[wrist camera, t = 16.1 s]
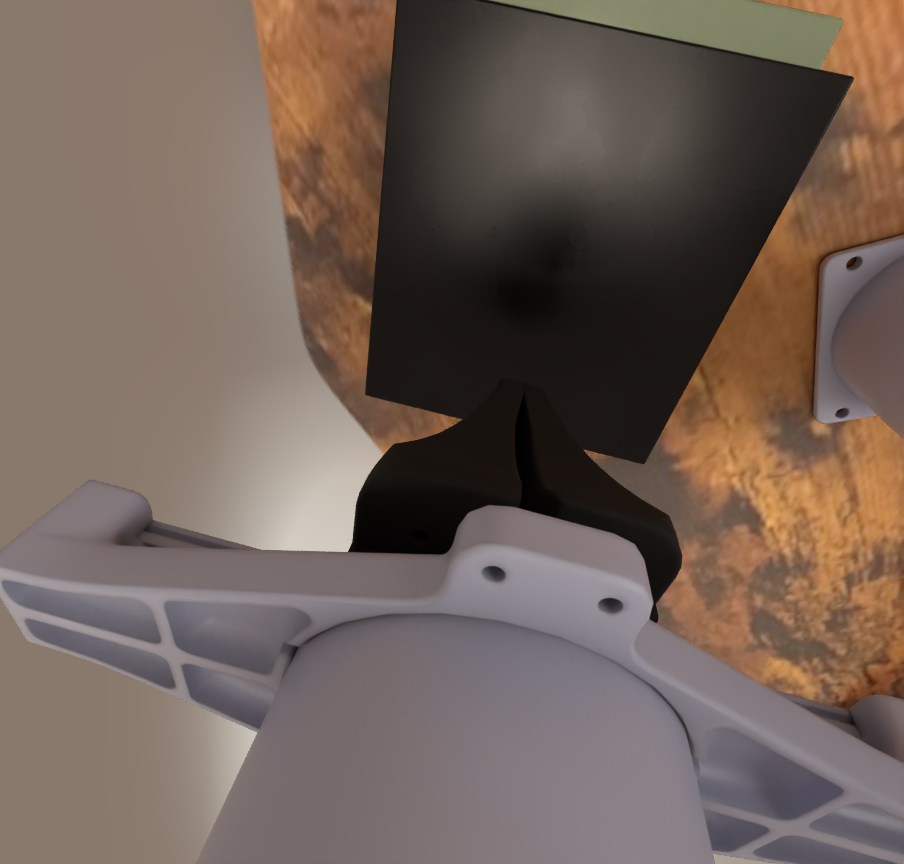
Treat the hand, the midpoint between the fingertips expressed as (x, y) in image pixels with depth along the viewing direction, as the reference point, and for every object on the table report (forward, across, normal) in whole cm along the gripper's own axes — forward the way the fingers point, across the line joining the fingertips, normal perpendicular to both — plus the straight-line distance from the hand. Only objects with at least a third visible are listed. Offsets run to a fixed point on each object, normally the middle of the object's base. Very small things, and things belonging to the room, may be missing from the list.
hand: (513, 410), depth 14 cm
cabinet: (+9, 0, -3) cm, 10 cm away
